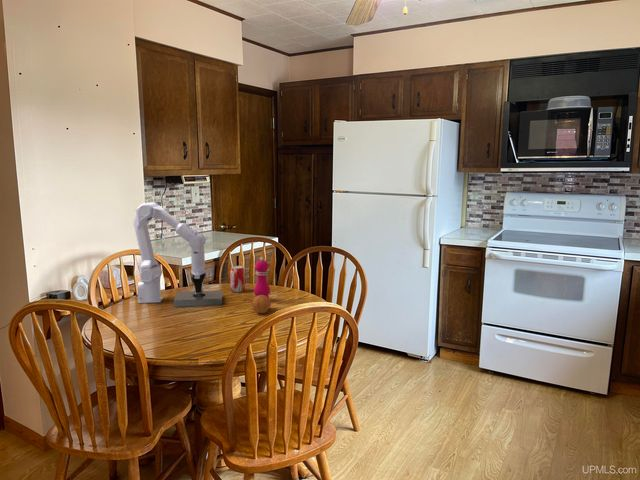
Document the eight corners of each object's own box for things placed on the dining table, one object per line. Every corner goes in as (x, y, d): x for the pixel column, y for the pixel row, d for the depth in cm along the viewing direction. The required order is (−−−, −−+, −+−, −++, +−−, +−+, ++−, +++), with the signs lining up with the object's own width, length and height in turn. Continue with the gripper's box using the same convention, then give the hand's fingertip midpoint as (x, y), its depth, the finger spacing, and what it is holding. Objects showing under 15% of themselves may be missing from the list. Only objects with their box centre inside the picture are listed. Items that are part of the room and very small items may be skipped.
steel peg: (194, 300, 210) (193, 280, 209) (194, 297, 214) (193, 278, 213) (203, 299, 212) (203, 279, 210) (203, 297, 215) (202, 277, 214)
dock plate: (174, 307, 205) (173, 300, 204) (178, 298, 218) (177, 292, 218) (221, 305, 208) (221, 298, 207) (222, 296, 222) (222, 290, 221)
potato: (249, 315, 193) (249, 298, 192) (256, 306, 206) (256, 290, 205) (266, 316, 192) (266, 299, 191) (273, 307, 205) (273, 291, 204)
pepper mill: (271, 298, 219) (271, 256, 216) (268, 302, 212) (268, 258, 209) (256, 298, 220) (255, 255, 217) (252, 302, 213) (251, 258, 210)
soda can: (243, 292, 229) (243, 268, 227) (229, 292, 229) (228, 268, 227) (246, 289, 236) (245, 265, 234) (232, 289, 236) (231, 265, 234)
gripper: (206, 264, 204) (207, 294, 206) (208, 258, 218) (209, 286, 220) (189, 264, 203) (190, 295, 205) (192, 258, 217) (193, 287, 219)
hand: (198, 291), depth 212 cm, fingers closed on steel peg, 4 cm apart
